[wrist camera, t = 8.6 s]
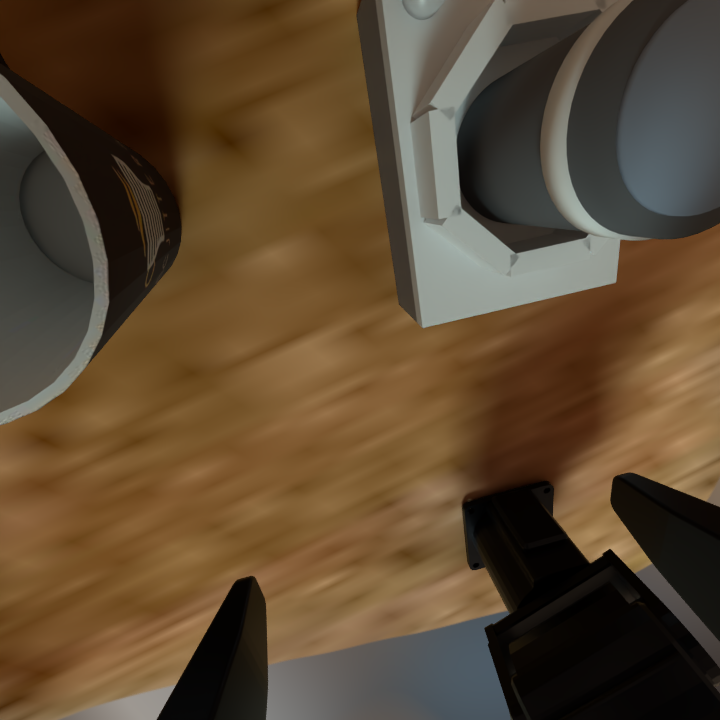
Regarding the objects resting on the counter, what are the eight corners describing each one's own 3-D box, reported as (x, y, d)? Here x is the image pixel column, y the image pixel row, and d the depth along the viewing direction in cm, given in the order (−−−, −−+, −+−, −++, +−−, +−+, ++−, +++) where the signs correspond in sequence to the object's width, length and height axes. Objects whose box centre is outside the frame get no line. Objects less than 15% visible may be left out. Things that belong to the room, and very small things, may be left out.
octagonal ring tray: (558, 268, 20) (655, 292, 15) (399, 304, 20) (438, 343, 14) (568, -21, 16) (716, -142, 10) (356, 15, 15) (392, -93, 9)
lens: (609, 105, 14) (890, 20, 7) (540, 244, 16) (720, 275, 9) (491, 37, 12) (710, -145, 6) (430, 197, 14) (548, 194, 8)
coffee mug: (186, 337, 19) (82, 466, 10) (-22, 279, 16) (-419, 379, 7) (247, 77, 15) (174, -111, 6) (-9, -46, 13) (-765, -659, 4)
